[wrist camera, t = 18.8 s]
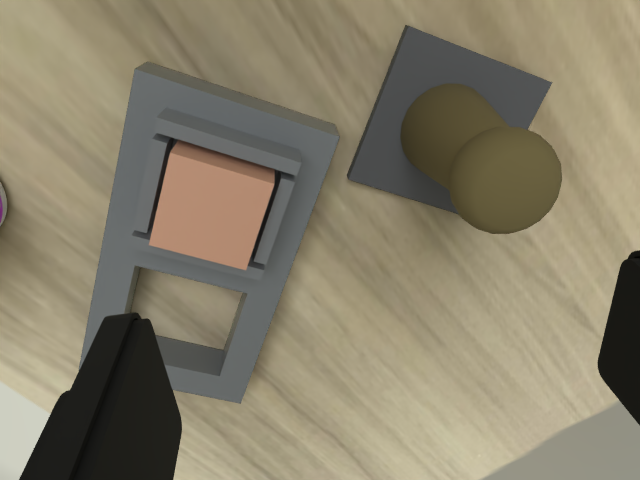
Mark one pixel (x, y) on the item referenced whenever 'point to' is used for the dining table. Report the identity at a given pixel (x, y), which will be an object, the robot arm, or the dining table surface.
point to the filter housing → (134, 252)
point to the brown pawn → (481, 159)
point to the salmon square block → (211, 205)
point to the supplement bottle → (2, 204)
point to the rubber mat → (412, 81)
